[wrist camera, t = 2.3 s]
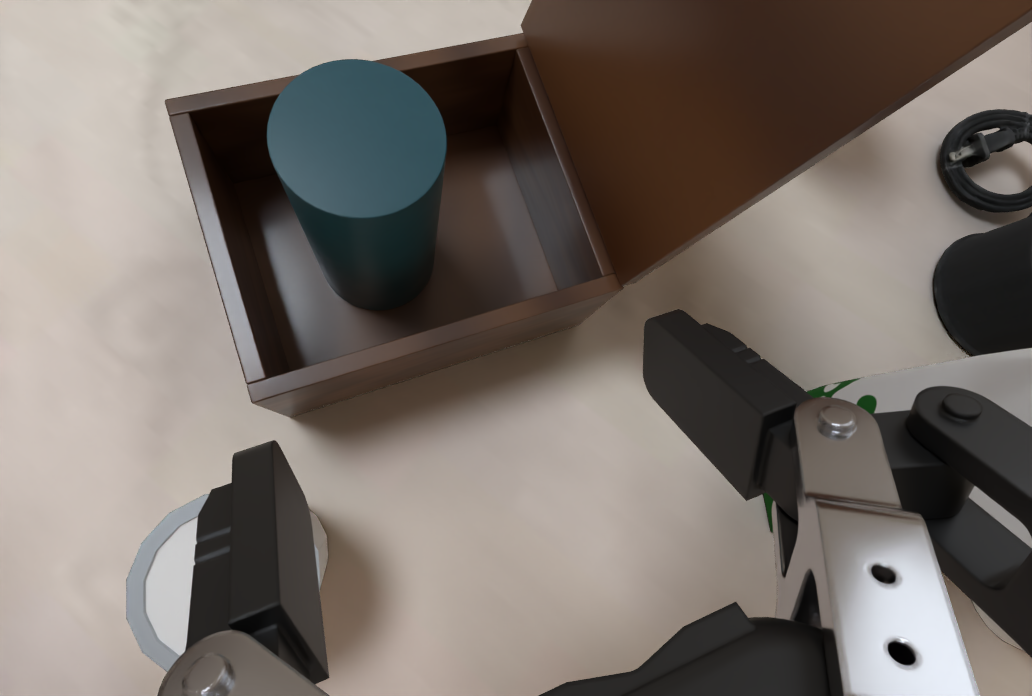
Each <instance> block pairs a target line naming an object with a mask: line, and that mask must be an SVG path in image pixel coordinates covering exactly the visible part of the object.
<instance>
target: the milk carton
mask: <svg viewBox="0 0 1032 696" xmlns="http://www.w3.org/2000/svg"><path fill="white" fill-rule="evenodd" d="M934 386H951V387H958V388H962V389H966V390H970V391H972V392H975V393H978V394H980V395H982V396H984V397H986V398H987V399H989V400H991V401H992V402H994V403H996V404H997V405H999V406H1000V407H1002V408H1003V409H1005V410H1006V411H1008V412H1009V413H1011V414H1013V415H1014V416H1016V417H1017V418H1019V419H1020V420H1022V421H1023V422H1025V423H1027V424H1028V425H1030V426H1031V427H1032V348H1027V349H1020V350H1013V351H1005V352H999V353H992V354H985V355H979V356H973V357H968V358H963V359H957V360H952V361H947V362H941V363H936V364H930V365H925V366H920V367H914V368H909V369H904V370H898V371H893V372H888V373H882V374H877V375H872V376H867V377H861V378H857V379H852V380H847V381H843V382H838V383H834V384H829V385H825V386H822V387H819V388H816V389H813V390H810V391H807V393H808V394H809V395H811V396H812V397H813V398H817V397H832V398H838V399H842V400H846V401H849V402H852V403H854V404H856V405H858V406H860V407H861V408H863V409H865V410H866V411H867V412H868V413H870V414H872V413H883V412H894V411H905V410H911V407H912V405H913V402H914V400H915V397H916V396H917V394H918V393H919V392H920V391H922V390H924V389H926V388H929V387H934ZM763 495H764V500H765V505H766V510H767V515H768V520H769V525H770V530H771V532H773V525H772V504H773V499H772V498H771V497H770V496H769V495H768V494H767V493H764V494H763ZM969 498H970V499H971V500H973V501H974V502H975V503H976V504H978V505H979V506H980V507H981V508H983V509H984V510H985V511H986V512H987V513H989V514H990V515H991V516H992V517H994V518H995V519H996V520H997V521H999V522H1000V523H1001V524H1002V525H1004V526H1005V527H1006V528H1007V529H1008V530H1010V531H1011V532H1012V533H1013V534H1015V535H1016V536H1017V537H1018V538H1020V539H1021V540H1022V541H1023V542H1025V543H1026V544H1027V545H1028V546H1029V547H1031V548H1032V538H1031V535H1030V533H1029V531H1028V530H1027V529H1026V527H1025V526H1024V525H1023V524H1022V523H1021V522H1020V521H1019V520H1018V519H1017V518H1015V517H1014V516H1013V515H1011V514H1010V513H1009V512H1008V511H1006V510H1005V509H1004V508H1003V507H1001V506H1000V505H999V504H997V503H996V502H995V501H994V500H992V499H991V498H990V497H989V496H987V495H986V494H985V493H983V492H982V491H981V490H980V489H978V488H977V487H976V486H974V488H973V490H972V492H971V493H970V495H969Z"/></svg>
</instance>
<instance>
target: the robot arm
mask: <svg viewBox="0 0 1032 696" xmlns="http://www.w3.org/2000/svg"><path fill="white" fill-rule="evenodd" d="M643 378H644V382H645V385H646V388H647V390H648V392H649V394H650V395H651V397H652V398H653V399H654V400H655V402H656V403H657V404H658V405H659V406H660V407H661V408H662V409H663V410H664V411H665V412H666V414H667V415H668V416H669V417H670V418H671V419H672V420H673V421H674V422H675V423H676V424H677V426H678V427H679V428H680V429H681V430H682V431H683V432H684V433H685V434H686V435H687V436H688V438H689V439H690V440H691V441H692V442H693V443H694V444H695V445H696V446H697V447H698V448H699V450H700V451H701V452H702V453H703V454H704V455H705V456H706V457H707V458H708V459H709V460H710V462H711V463H712V464H713V465H714V466H715V467H716V468H717V469H718V470H719V471H720V472H721V474H722V475H723V476H724V477H725V478H726V479H727V480H728V481H729V482H730V483H731V484H732V486H733V487H734V488H735V489H736V490H737V491H738V492H739V493H740V494H741V495H742V496H743V498H744V499H745V500H746V501H747V500H750V499H752V498H754V497H757V496H759V495H761V494H764V493H767V494H768V495H769V496H770V497H771V498H772V499H773V504H772V525H773V538H774V552H775V565H776V579H777V604H776V613H775V618H770V617H753V618H748V617H747V616H746V615H745V613H744V612H743V611H742V609H741V608H740V607H739V605H738V604H737V603H736V602H734V603H732V604H730V605H728V606H726V607H724V608H722V609H720V610H717V611H715V612H713V613H711V614H709V615H707V616H705V617H703V618H701V619H699V620H696V621H694V622H692V623H690V624H688V625H686V626H684V627H683V628H682V629H680V630H679V631H678V632H677V633H676V634H675V635H674V636H673V637H672V638H671V639H670V640H669V641H667V642H666V643H665V644H664V645H663V646H662V647H661V648H660V649H659V650H658V651H657V652H656V653H654V654H653V655H652V656H651V657H650V658H649V659H648V660H647V661H646V662H645V663H644V664H643V665H642V666H640V667H639V668H638V669H636V670H634V671H631V672H626V673H620V674H614V675H608V676H602V677H596V678H590V679H584V680H578V681H572V682H566V683H564V684H562V685H560V686H558V687H556V688H554V689H552V690H549V691H547V692H545V693H543V694H541V695H539V696H980V694H979V690H978V687H977V684H976V681H975V678H974V675H973V671H972V668H971V665H970V662H969V659H968V656H967V652H966V649H965V646H964V643H963V640H962V637H961V634H960V630H959V627H958V624H957V621H956V618H955V615H954V611H953V608H952V605H951V602H950V599H949V596H948V592H947V589H946V586H945V583H944V580H943V577H942V573H941V571H942V572H943V573H944V574H945V575H946V576H947V577H948V578H949V579H950V580H951V581H952V582H953V583H954V584H955V585H956V586H957V587H959V588H960V589H961V590H962V591H963V592H964V593H965V594H966V595H967V596H968V597H969V598H970V599H971V600H972V601H973V602H974V603H975V604H976V605H977V606H978V607H979V608H980V609H981V610H983V611H984V612H985V613H986V614H987V615H988V616H989V617H990V618H991V619H992V620H993V621H994V622H995V623H996V624H997V625H998V626H999V627H1000V628H1001V629H1002V630H1003V631H1004V632H1006V633H1007V634H1008V635H1009V636H1010V637H1011V638H1012V639H1013V640H1014V641H1015V642H1016V643H1017V644H1018V645H1019V646H1020V647H1021V648H1022V649H1023V650H1024V651H1025V652H1026V653H1027V654H1028V655H1030V656H1031V657H1032V548H1031V547H1029V546H1028V545H1027V544H1026V543H1025V542H1023V541H1022V540H1021V539H1020V538H1018V537H1017V536H1016V535H1015V534H1013V533H1012V532H1011V531H1010V530H1008V529H1007V528H1006V527H1005V526H1004V525H1002V524H1001V523H1000V522H999V521H997V520H996V519H995V518H994V517H992V516H991V515H990V514H989V513H987V512H986V511H985V510H984V509H983V508H981V507H980V506H979V505H978V504H976V503H975V502H974V501H973V500H971V499H970V498H969V495H970V493H971V492H972V490H973V488H974V486H976V487H977V488H978V489H980V490H981V491H982V492H983V493H985V494H986V495H987V496H989V497H990V498H991V499H992V500H994V501H995V502H996V503H997V504H999V505H1000V506H1001V507H1003V508H1004V509H1005V510H1006V511H1008V512H1009V513H1010V514H1011V515H1013V516H1014V517H1015V518H1017V519H1018V520H1019V521H1020V522H1021V523H1022V524H1023V525H1024V526H1025V527H1026V529H1027V530H1028V531H1029V533H1030V535H1031V538H1032V427H1031V426H1030V425H1028V424H1027V423H1025V422H1023V421H1022V420H1020V419H1019V418H1017V417H1016V416H1014V415H1013V414H1011V413H1009V412H1008V411H1006V410H1005V409H1003V408H1002V407H1000V406H999V405H997V404H996V403H994V402H992V401H991V400H989V399H987V398H986V397H984V396H982V395H980V394H978V393H975V392H972V391H970V390H966V389H962V388H958V387H951V386H934V387H929V388H926V389H924V390H922V391H920V392H919V393H918V394H917V396H916V397H915V400H914V402H913V405H912V407H911V410H905V411H894V412H883V413H872V414H870V413H868V412H867V411H866V410H865V409H863V408H861V407H860V406H858V405H856V404H854V403H852V402H849V401H846V400H842V399H838V398H832V397H817V398H813V397H812V396H811V395H809V394H808V393H807V392H806V391H804V390H803V389H802V388H801V387H799V386H798V385H797V384H795V383H794V382H793V381H792V380H790V379H789V378H788V377H786V376H785V375H784V374H783V373H781V372H780V371H779V370H777V369H776V368H775V367H774V366H772V365H771V364H770V363H768V362H767V361H766V360H765V359H761V358H760V356H759V355H758V354H757V353H756V352H754V351H753V350H752V349H750V348H747V346H746V345H745V344H744V343H743V342H741V341H740V340H739V339H738V338H736V337H735V336H734V335H732V334H731V333H730V332H728V331H725V330H723V329H720V328H717V327H715V326H712V325H710V324H707V323H706V324H703V325H701V324H699V323H698V322H697V321H696V320H694V319H693V318H692V317H691V316H689V315H688V314H687V313H686V312H684V311H683V310H680V309H677V310H674V311H671V312H668V313H665V314H662V315H659V316H655V317H652V318H649V319H648V320H647V321H646V322H645V326H644V352H643ZM196 541H197V544H196V545H195V554H194V561H195V565H194V566H193V577H192V588H191V599H190V610H189V621H188V632H187V643H186V648H185V652H184V653H183V654H182V655H181V656H180V657H179V658H178V659H177V660H176V661H175V662H174V664H173V665H172V666H171V668H170V669H169V671H168V672H167V674H166V676H165V677H164V679H163V681H162V684H161V686H160V688H159V692H158V696H329V695H328V694H327V693H325V692H324V691H323V690H321V689H320V688H319V687H317V686H316V685H315V684H317V683H319V682H321V681H324V680H326V679H328V678H329V672H328V663H327V654H326V645H325V636H324V627H323V618H322V610H321V601H320V592H319V583H318V574H317V565H316V556H315V547H314V539H313V530H312V521H311V516H310V511H309V508H308V504H307V501H306V498H305V496H304V493H303V491H302V489H301V487H300V485H299V483H298V481H297V479H296V477H295V475H294V473H293V471H292V469H291V467H290V465H289V463H288V462H287V460H286V458H285V456H284V454H283V452H282V450H281V448H280V446H279V444H278V443H277V442H276V441H275V440H273V441H270V442H267V443H264V444H261V445H258V446H255V447H252V448H249V449H246V450H243V451H240V452H237V453H234V455H233V460H232V483H230V484H227V485H224V486H221V487H218V488H215V489H212V490H211V492H210V494H209V496H208V498H207V500H206V501H205V503H204V505H203V507H202V509H201V511H200V512H199V514H198V521H197V532H196Z"/></svg>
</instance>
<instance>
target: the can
mask: <svg viewBox="0 0 1032 696" xmlns="http://www.w3.org/2000/svg"><path fill="white" fill-rule="evenodd" d="M267 146H268V150H269V155H270V158H271V161H272V163H273V166H274V168H275V170H276V172H277V174H278V177H279V179H280V181H281V183H282V185H283V188H284V190H285V192H286V194H287V196H288V198H289V201H290V203H291V205H292V207H293V209H294V211H295V214H296V216H297V218H298V220H299V222H300V224H301V227H302V229H303V231H304V233H305V235H306V237H307V240H308V242H309V244H310V246H311V248H312V250H313V253H314V255H315V257H316V259H317V261H318V264H319V266H320V268H321V270H322V272H323V274H324V277H325V279H326V280H327V282H328V284H329V285H330V287H331V288H332V289H333V291H334V292H335V293H336V294H337V295H338V296H340V297H341V298H342V299H344V300H345V301H347V302H348V303H350V304H352V305H355V306H357V307H360V308H364V309H369V310H388V309H393V308H396V307H399V306H402V305H404V304H406V303H408V302H409V301H411V300H412V299H414V298H415V297H416V296H417V295H418V294H419V293H420V292H421V291H422V290H423V289H424V287H425V286H426V284H427V283H428V281H429V279H430V276H431V273H432V270H433V264H434V256H435V247H436V238H437V230H438V221H439V213H440V204H441V195H442V187H443V178H444V170H445V161H446V152H447V136H446V129H445V125H444V122H443V119H442V116H441V114H440V112H439V110H438V108H437V106H436V105H435V103H434V101H433V100H432V99H431V97H430V96H429V95H428V93H427V92H426V91H425V90H424V89H423V88H422V87H421V86H420V85H419V84H418V83H416V82H415V81H414V80H413V79H411V78H410V77H409V76H407V75H405V74H404V73H402V72H400V71H398V70H396V69H394V68H392V67H390V66H387V65H384V64H381V63H377V62H372V61H367V60H358V59H345V60H337V61H331V62H327V63H323V64H321V65H318V66H315V67H313V68H311V69H309V70H307V71H305V72H303V73H302V74H300V75H299V76H297V77H296V78H295V79H293V80H292V81H291V82H290V83H289V84H288V85H287V86H286V87H285V88H284V90H283V91H282V92H281V93H280V94H279V96H278V98H277V100H276V101H275V103H274V105H273V108H272V110H271V113H270V116H269V120H268V124H267Z"/></svg>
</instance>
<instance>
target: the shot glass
mask: <svg viewBox="0 0 1032 696" xmlns="http://www.w3.org/2000/svg"><path fill="white" fill-rule="evenodd" d="M208 496H209V494H206V495H203V496H201V497H199V498H197V499H195V500H193V501H191V502H189V503H187V504H185V505H184V506H182V507H180V508H178V509H176V510H174V511H172V512H170V513H169V514H168V515H167V516H166V517H165V518H164V519H163V520H162V521H161V522H160V523H159V525H158V526H157V527H156V528H155V529H154V530H153V531H152V532H151V533H150V534H149V535H148V536H147V537H146V539H145V540H144V541H143V542H142V543H141V546H140V548H139V550H138V553H137V555H136V558H135V560H134V563H133V565H132V567H131V570H130V572H129V575H128V577H127V580H126V619H127V621H128V623H129V625H130V627H131V629H132V631H133V634H134V636H135V638H136V640H137V642H138V644H139V646H140V649H141V651H142V653H144V654H145V655H146V656H148V657H149V658H150V659H151V660H153V661H154V662H155V663H156V664H158V665H159V666H160V667H161V668H163V669H164V670H165V671H166V672H168V671H169V669H170V668H171V666H172V665H173V664H174V662H175V661H176V660H177V659H178V658H179V657H180V656H181V655H182V654H183V653H184V652H185V648H186V643H187V632H188V621H189V610H190V599H191V588H192V577H193V566H194V565H195V561H194V554H195V545H196V544H197V541H196V532H197V521H198V514H199V512H200V511H201V509H202V507H203V505H204V503H205V501H206V500H207V498H208ZM309 511H310V510H309ZM310 516H311V521H312V530H313V539H314V547H315V556H316V565H317V574H318V583H319V591H320V587H321V584H322V580H323V576H324V573H325V569H326V565H327V561H328V545H327V535H326V533H325V531H324V529H323V527H322V525H321V523H320V521H319V519H318V517H317V516H316V515H315V514H314V513H313V512H311V511H310Z"/></svg>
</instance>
